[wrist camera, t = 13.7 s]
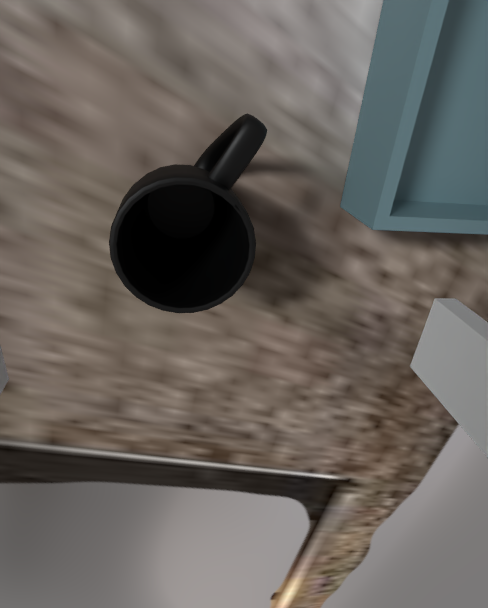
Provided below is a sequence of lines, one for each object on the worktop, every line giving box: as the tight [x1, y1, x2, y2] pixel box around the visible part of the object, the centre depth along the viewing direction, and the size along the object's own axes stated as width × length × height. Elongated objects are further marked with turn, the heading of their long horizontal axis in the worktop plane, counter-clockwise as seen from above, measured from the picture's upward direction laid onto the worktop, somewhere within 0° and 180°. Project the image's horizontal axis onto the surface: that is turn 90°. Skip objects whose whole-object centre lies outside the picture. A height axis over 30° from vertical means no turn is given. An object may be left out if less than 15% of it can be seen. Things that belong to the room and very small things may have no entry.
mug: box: [109, 114, 267, 313], centre depth 25 cm, size 8×12×10 cm
